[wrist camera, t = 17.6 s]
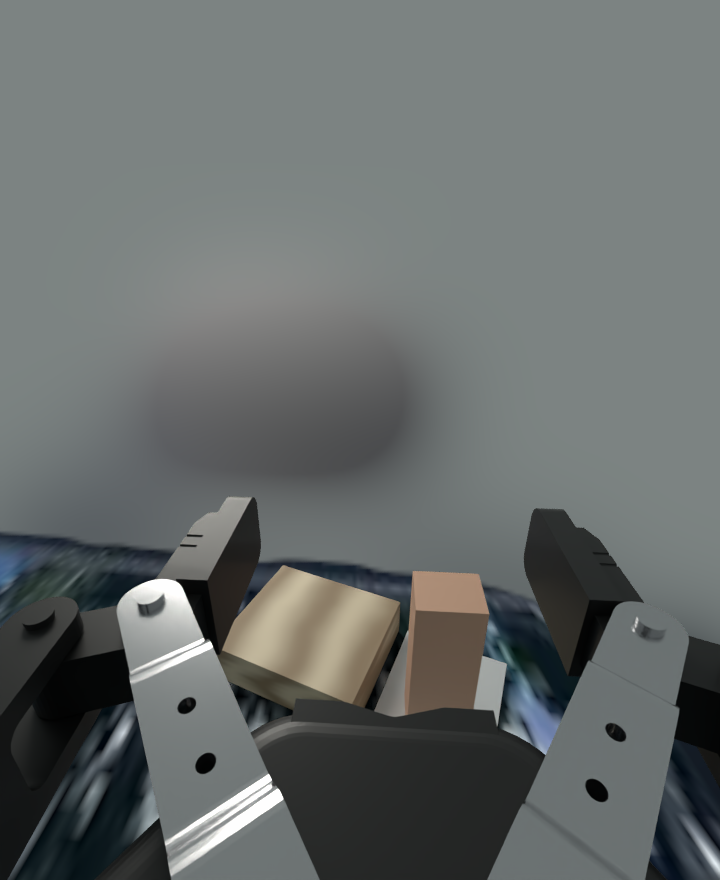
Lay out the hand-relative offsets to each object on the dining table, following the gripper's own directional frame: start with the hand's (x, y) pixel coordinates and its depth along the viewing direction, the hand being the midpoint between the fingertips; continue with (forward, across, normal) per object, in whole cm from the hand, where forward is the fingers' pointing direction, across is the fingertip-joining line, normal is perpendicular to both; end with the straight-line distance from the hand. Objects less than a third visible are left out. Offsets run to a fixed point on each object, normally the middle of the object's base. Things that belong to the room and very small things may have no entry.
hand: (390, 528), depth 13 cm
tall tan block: (+14, -5, +30) cm, 33 cm away
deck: (+21, +7, +30) cm, 37 cm away
